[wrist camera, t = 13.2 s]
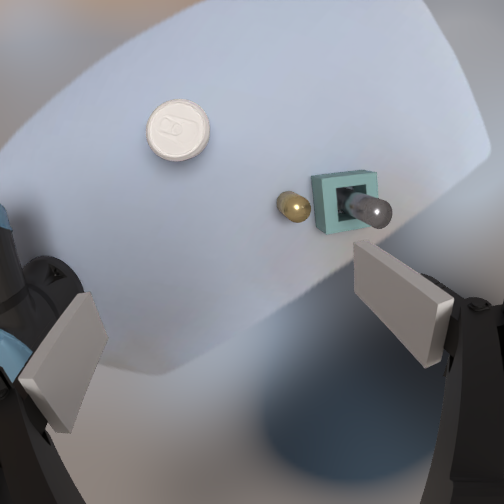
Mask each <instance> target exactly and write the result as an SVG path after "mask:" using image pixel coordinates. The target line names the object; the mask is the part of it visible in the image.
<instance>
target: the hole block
mask: <svg viewBox="0 0 504 504" xmlns="http://www.w3.org/2000/svg"><path fill="white" fill-rule="evenodd" d="M311 180H312V189H313V198H314V208H315V219H316V227H317V228H318V229H320V230H321V231H322V232H324V233H325V234H326V235H327V234H332V233H338V232H343V231H349V230H354V229H360V228H365V227H370V225H368V224H366V223H364V222H362V221H360V220H358V219H356V218H354V217H352V216H351V215H349V214H347V213H345V212H344V213H338V209H337V196H336V188H341V187H348V186H353V190H354V191H357V192H360V193H364V194H367V195H370V196H373V197H376V198H378V183H377V172H372V171H366V170H357V171H348V172H339V173H331V174H322V175H315V176H311Z"/></svg>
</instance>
